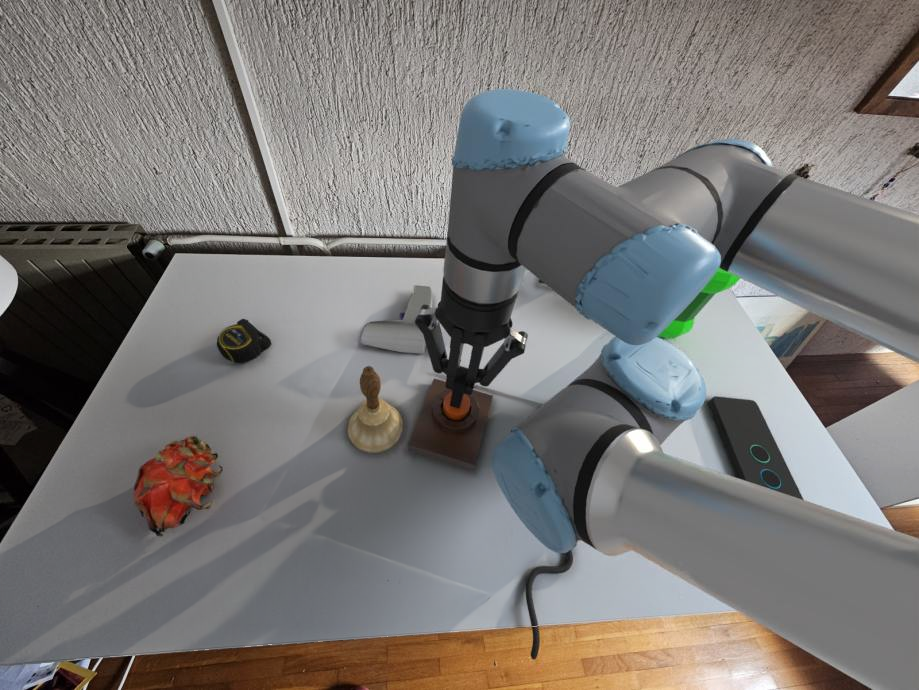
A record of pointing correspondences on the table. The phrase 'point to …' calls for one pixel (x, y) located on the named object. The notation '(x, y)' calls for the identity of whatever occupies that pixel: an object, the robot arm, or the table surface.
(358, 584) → the table surface
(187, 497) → the dragon fruit
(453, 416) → the button
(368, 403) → the hand bell
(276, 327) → the table surface
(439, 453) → the control block
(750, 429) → the smart home device
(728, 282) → the plastic bottle
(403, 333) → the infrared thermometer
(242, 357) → the tape measure
